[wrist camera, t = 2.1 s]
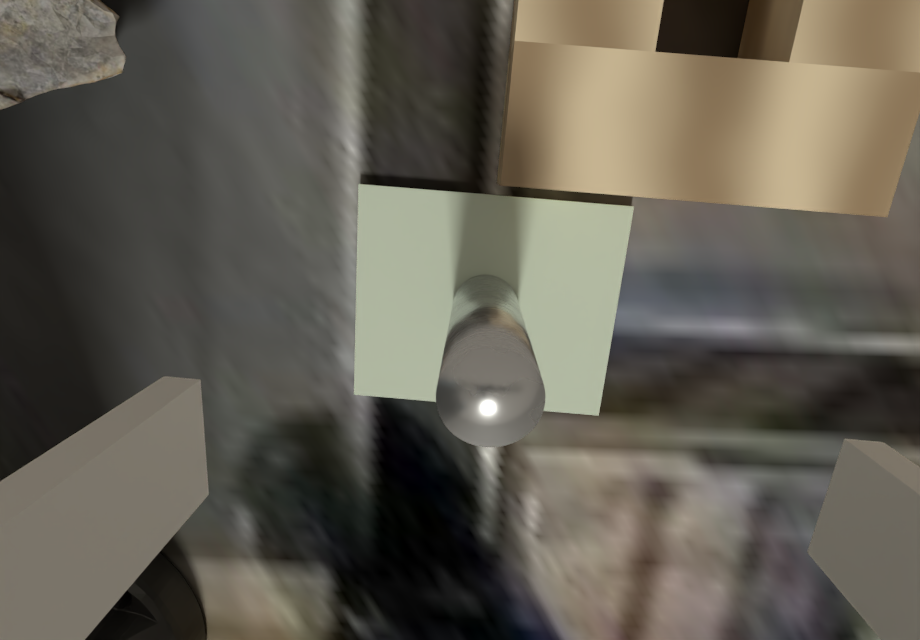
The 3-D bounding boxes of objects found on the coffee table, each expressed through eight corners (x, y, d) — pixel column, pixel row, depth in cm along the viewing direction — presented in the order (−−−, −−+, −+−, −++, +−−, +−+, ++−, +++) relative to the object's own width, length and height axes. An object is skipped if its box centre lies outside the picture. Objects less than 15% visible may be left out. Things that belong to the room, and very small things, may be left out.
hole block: (496, 183, 22) (500, 185, 19) (534, -216, 19) (549, -317, 15) (816, 209, 22) (887, 216, 18) (923, -187, 18) (1040, -282, 15)
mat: (355, 391, 25) (354, 394, 25) (360, 183, 23) (358, 184, 22) (596, 411, 25) (598, 415, 25) (631, 206, 23) (634, 206, 22)
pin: (450, 334, 24) (432, 442, 14) (455, 271, 23) (439, 342, 14) (514, 339, 24) (538, 451, 14) (521, 277, 23) (551, 352, 14)
